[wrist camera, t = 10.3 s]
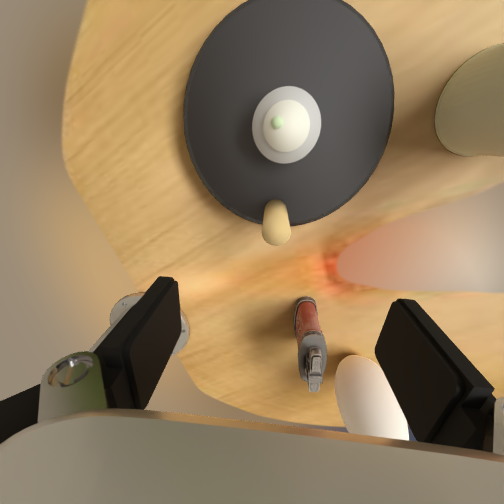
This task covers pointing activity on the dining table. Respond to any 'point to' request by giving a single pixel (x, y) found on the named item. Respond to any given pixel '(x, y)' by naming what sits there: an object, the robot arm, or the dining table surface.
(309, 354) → the lighter
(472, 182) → the dining table surface
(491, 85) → the can
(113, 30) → the dining table surface
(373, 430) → the sauce bottle
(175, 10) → the dining table surface
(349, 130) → the wheel
